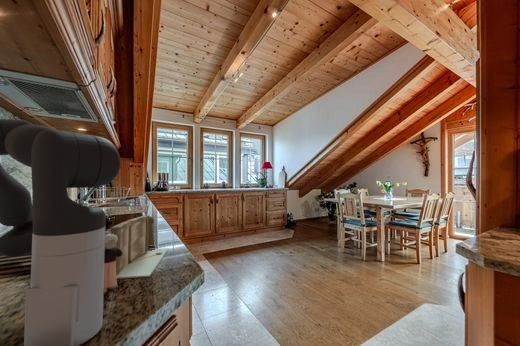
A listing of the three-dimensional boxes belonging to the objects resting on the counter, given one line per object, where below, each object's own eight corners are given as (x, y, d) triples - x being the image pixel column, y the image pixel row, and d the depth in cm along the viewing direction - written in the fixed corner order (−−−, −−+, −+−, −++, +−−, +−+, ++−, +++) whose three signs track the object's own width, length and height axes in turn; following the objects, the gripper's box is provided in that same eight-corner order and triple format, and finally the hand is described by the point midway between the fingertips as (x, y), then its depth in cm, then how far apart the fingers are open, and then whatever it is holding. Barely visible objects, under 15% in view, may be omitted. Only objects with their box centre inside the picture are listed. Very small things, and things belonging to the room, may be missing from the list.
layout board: (149, 276, 59) (149, 274, 59) (100, 279, 57) (100, 277, 57) (168, 249, 81) (168, 247, 81) (134, 250, 79) (134, 249, 79)
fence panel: (128, 262, 66) (129, 221, 67) (122, 262, 66) (123, 221, 67) (148, 250, 77) (149, 215, 77) (143, 250, 77) (144, 215, 77)
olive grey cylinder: (151, 242, 90) (152, 214, 90) (156, 245, 85) (157, 216, 86) (134, 245, 86) (135, 216, 86) (139, 249, 81) (140, 218, 82)
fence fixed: (117, 275, 58) (118, 227, 59) (109, 276, 58) (110, 227, 58) (128, 264, 66) (130, 221, 66) (122, 264, 66) (123, 221, 66)
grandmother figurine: (100, 297, 48) (102, 238, 49) (86, 295, 49) (87, 237, 49) (128, 281, 56) (129, 230, 56) (115, 280, 57) (116, 229, 57)
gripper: (68, 230, 65) (134, 228, 69) (92, 221, 78) (146, 220, 82) (67, 256, 65) (133, 253, 69) (91, 243, 78) (146, 241, 81)
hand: (140, 235), depth 75 cm, fingers closed
